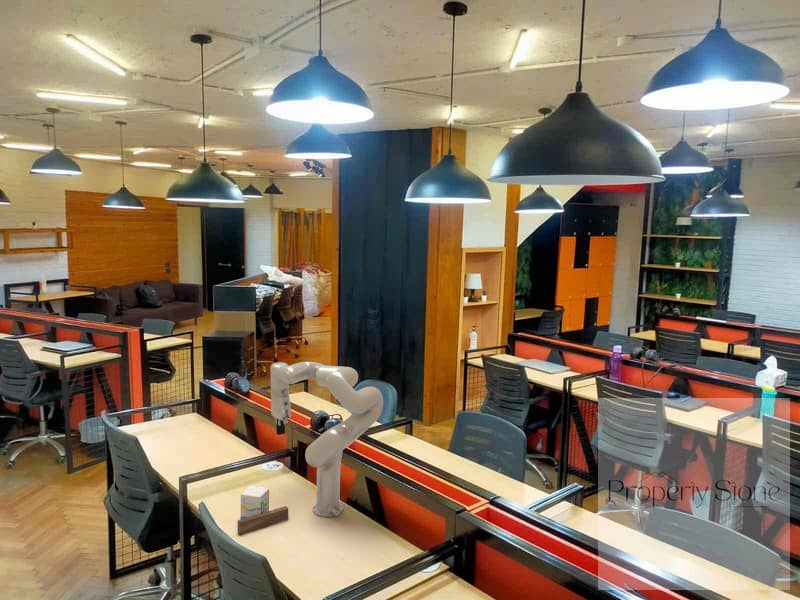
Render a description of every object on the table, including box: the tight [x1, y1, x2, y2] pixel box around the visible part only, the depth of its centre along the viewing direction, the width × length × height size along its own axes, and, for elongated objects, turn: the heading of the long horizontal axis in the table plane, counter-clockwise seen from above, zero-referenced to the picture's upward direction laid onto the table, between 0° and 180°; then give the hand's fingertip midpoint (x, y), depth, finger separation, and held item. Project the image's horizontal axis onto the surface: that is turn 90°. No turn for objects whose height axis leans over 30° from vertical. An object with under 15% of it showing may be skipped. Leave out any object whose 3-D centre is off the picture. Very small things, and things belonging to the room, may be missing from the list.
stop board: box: [237, 505, 289, 536], centre depth 211 cm, size 2×20×5 cm, turn 128°
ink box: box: [239, 485, 270, 520], centre depth 217 cm, size 8×8×12 cm
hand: (280, 433), depth 233 cm, fingers closed
